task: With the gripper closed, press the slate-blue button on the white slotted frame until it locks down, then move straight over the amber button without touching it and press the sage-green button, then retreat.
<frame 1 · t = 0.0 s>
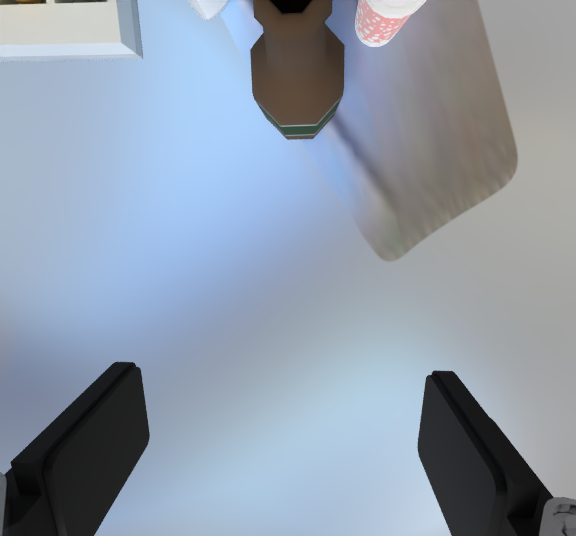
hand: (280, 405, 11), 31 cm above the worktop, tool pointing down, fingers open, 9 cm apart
beer bottle: (299, 106, 37), on the worktop
beverage cup: (376, 23, 34), on the worktop
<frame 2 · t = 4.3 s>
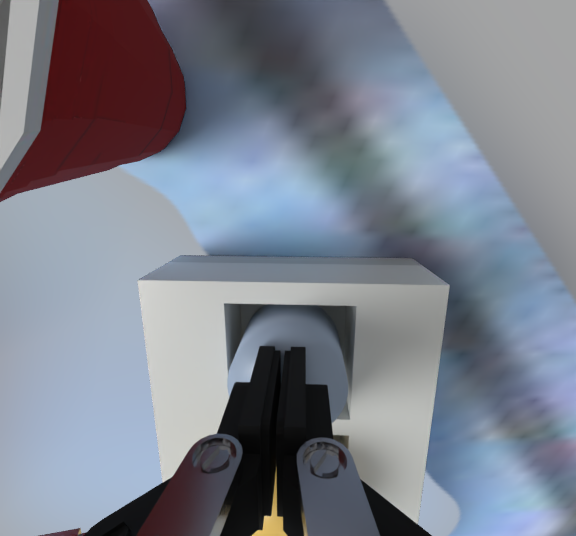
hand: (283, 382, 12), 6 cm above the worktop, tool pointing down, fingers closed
button amber: (288, 491, 14), point 5 cm above the worktop, slide at 0.0 cm
white slotted frame: (293, 413, 19), on the worktop
plastic cup: (127, 100, 16), on the worktop
button slate: (289, 362, 13), point 4 cm above the worktop, slide at 0.7 cm, touching gripper
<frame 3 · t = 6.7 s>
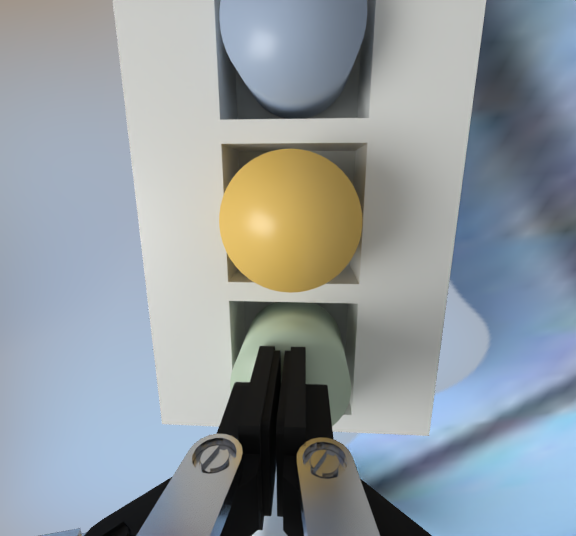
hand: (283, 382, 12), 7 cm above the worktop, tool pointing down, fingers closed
button amber: (292, 218, 12), point 5 cm above the worktop, slide at 0.0 cm
button sage: (292, 363, 13), point 5 cm above the worktop, slide at 0.3 cm, touching gripper
white slotted frame: (297, 207, 17), on the worktop
eye dropper bottle: (295, 485, 21), on the worktop
button slate: (294, 42, 11), point 4 cm above the worktop, slide at 1.3 cm
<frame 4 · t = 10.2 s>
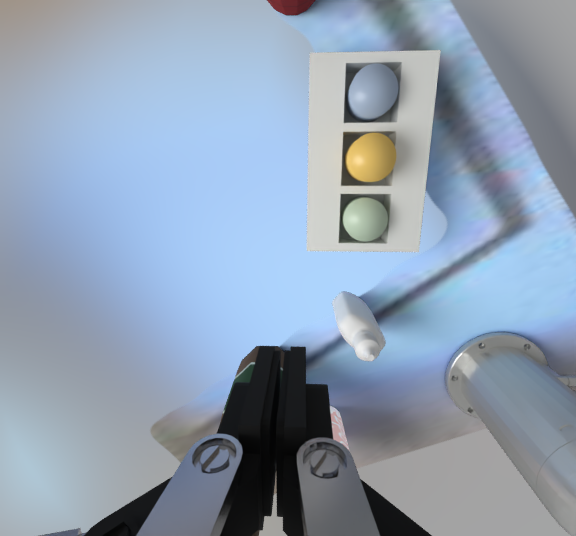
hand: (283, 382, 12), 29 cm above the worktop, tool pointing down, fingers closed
button amber: (369, 158, 32), point 5 cm above the worktop, slide at 0.0 cm
button sage: (363, 218, 35), point 4 cm above the worktop, slide at 1.3 cm
white slotted frame: (360, 161, 37), on the worktop
eye dropper bottle: (352, 307, 42), on the worktop
button slate: (370, 95, 32), point 4 cm above the worktop, slide at 1.3 cm
beer bottle: (268, 367, 45), on the worktop
beverage cup: (325, 417, 47), on the worktop
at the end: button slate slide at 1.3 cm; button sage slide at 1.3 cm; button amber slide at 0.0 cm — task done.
